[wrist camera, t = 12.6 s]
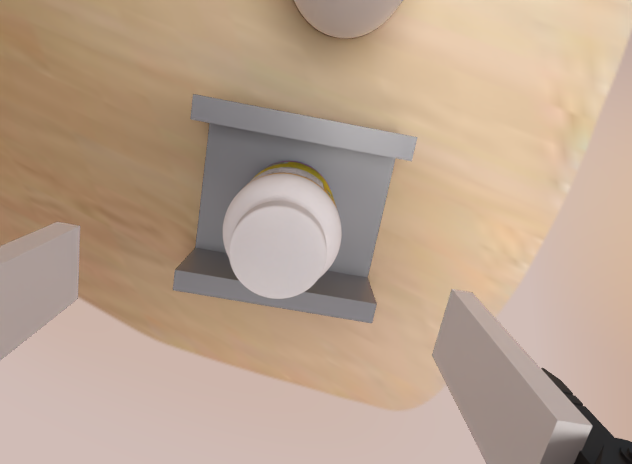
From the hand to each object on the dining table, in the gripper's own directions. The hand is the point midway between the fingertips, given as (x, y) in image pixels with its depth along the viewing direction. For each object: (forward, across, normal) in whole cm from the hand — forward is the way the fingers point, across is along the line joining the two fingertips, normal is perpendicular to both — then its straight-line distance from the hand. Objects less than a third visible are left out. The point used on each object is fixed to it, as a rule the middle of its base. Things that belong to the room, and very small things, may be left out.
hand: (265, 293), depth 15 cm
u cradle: (+19, 0, 0) cm, 19 cm away
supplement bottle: (+18, 0, 0) cm, 18 cm away
